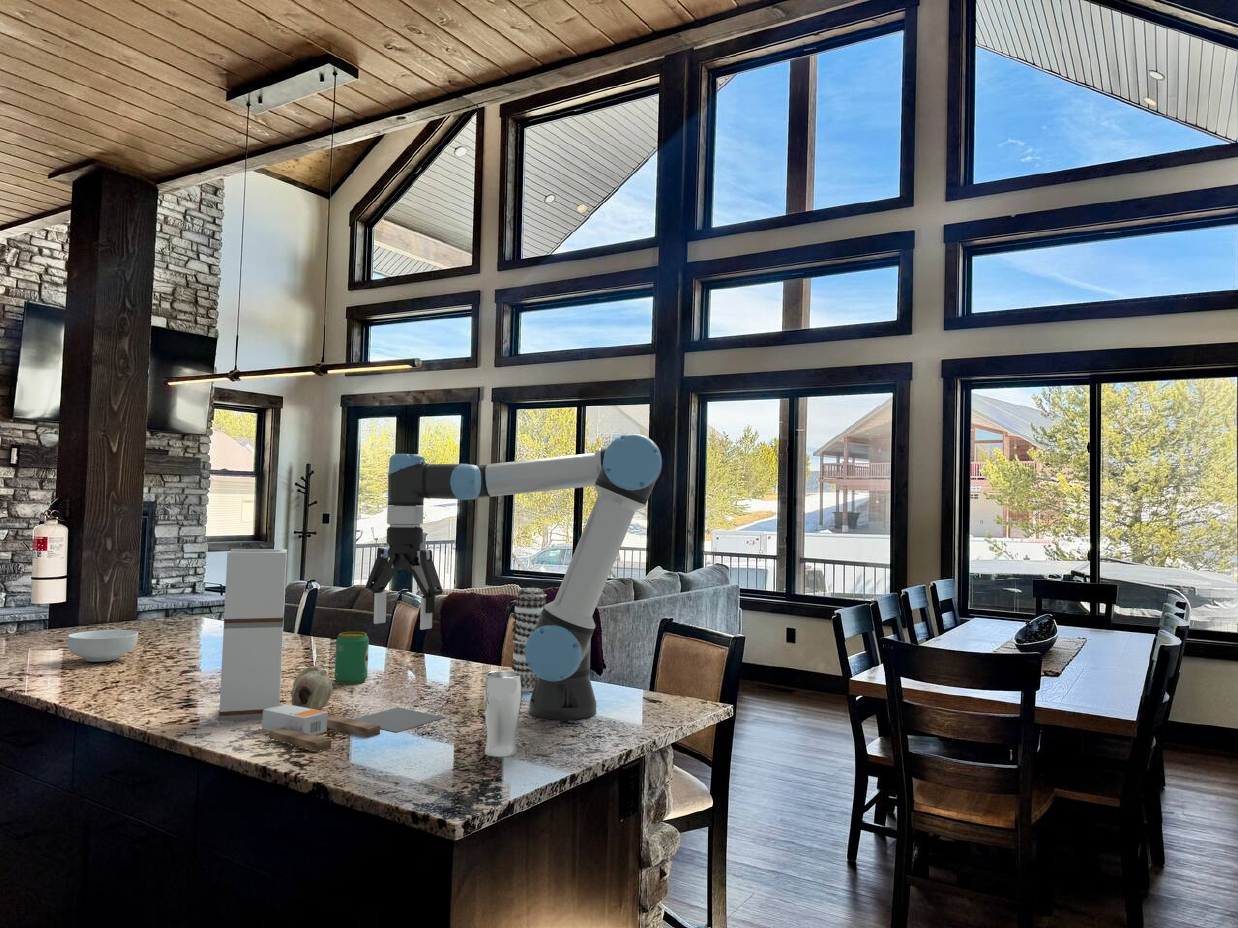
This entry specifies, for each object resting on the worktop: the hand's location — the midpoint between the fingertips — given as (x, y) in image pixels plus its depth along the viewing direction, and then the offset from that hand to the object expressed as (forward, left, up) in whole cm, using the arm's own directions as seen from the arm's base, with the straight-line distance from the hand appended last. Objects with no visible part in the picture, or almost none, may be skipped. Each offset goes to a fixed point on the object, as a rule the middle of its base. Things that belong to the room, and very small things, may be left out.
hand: (402, 625), depth 175 cm
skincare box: (+5, +17, -18) cm, 25 cm away
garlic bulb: (+20, +6, -20) cm, 29 cm away
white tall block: (+30, +14, -20) cm, 39 cm away
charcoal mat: (0, 0, -20) cm, 20 cm away
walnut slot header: (+2, +17, -20) cm, 27 cm away
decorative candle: (-3, -42, -20) cm, 47 cm away
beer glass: (-32, +5, -20) cm, 38 cm away
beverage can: (+37, -20, -20) cm, 47 cm away
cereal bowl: (+111, +3, -20) cm, 113 cm away
